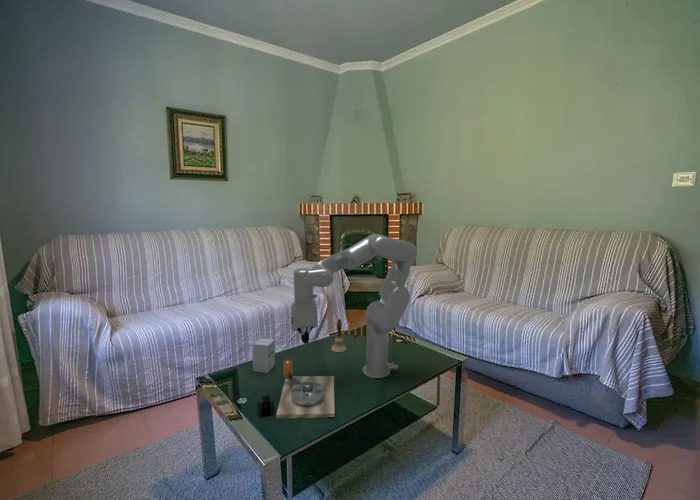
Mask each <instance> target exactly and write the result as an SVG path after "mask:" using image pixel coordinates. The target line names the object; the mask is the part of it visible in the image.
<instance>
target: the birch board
mask: <svg viewBox="0 0 700 500" xmlns="http://www.w3.org/2000/svg"><path fill="white" fill-rule="evenodd" d="M292 376H293V375H292ZM293 377H294V378H296V379H297V380H298V381H300V382H306V381H307V379H309V380H313V382H316V383H319V384H321V385H322V386H323V388H324V398H323V400H322V401H321V402H320V403H319V404H317V405H314V406H310V407H302V406H298V405H296V404H294V403H293V402H292V400H291V390H292V387H293V385H294V384H293V383H291V382H290V381H289V380H287V379H286V378H284V379H285V380H284V383H283V387H282V389H281V390H282V391H281V395H280V400H279V403H278V406H277V411H276V413H275V414H276V417H275V418H276V419H328V418H327V417H335V413H336V412H335V410H336V409H335V376H334V375H319V376H318V375H313V376H312V375H310V376H309V375H303V376H302V375H300V376H298V375H295V376H293Z"/></svg>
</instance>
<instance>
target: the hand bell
mask: <svg viewBox="0 0 700 500" xmlns="http://www.w3.org/2000/svg"><path fill="white" fill-rule="evenodd" d="M342 323H343V322H342V320H341V319H340V318H338V319H337V322H336V330H337V337H335V338H334V343H333V345H332V346H331V348H330V350H331V351H332V352H334V353H336V352H342V353H345V352H347V351H346V350H348V348H347V346H346V345H345V341H344V340H345V339H344V338H343V337H342V333H341V331H342V328H343V324H342ZM344 351H345V352H344Z"/></svg>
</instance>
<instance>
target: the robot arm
mask: <svg viewBox="0 0 700 500" xmlns="http://www.w3.org/2000/svg"><path fill="white" fill-rule="evenodd" d="M376 256H377V257H381V258H384V259H387V260H391V266H390V268H389V271H388V273H387V274H386V277H385V278H384V280H383V282H382V285H381V286H380V288H379V296H380V298H381V299H382V300H383V301H384V303H383V302H381V301H372V302H371V303H370V304H369V305H368V306H367V308H366V311H365V320H366V348H365V349H366V350H365V351H366V353H365V354H366V355H365V357H366V358H365V365H364V366H362V370H361V371H362V373H363V375H364V376H365V377H368V378H370V379H375V378H382V377H385V376H387V375H389V374H390V372H392V370H399V365H398V364H395V362H389V339H390V337H389V336H390V335H389V334H390V332H392V331H393V330H394V329H396V327H398V324H399V323H400V321H401V319H402V317H403V315H404V314H405V311H406V309H407V308H408V306H409V303H410V297H411V295H410V291H409V290H408V289H407V287H406V286H405V285H406V283H407V280H408V279H409V276H410V273H411V263H412V262H413V261H414V260H415V259H416V258H417V256H418V249H417V246H416V245H415V244H414V243H413V242H409V241H406V240H402V239H396V238H393V237H389V236H386V235H382V234H379V233H373V234H369V236H367V237H364V238H363V239H361V240H359V241H358V242H356V243H355V244H353V245H351V246H350V247H348V248H345V249H343V250H341V251H338V252H337V253H334V254H332V255H330V256H328V257H325V258H323V259H322V260H320V261H318V262H317V263H315V264H314V265H313V266H312V267H311V268H308V267H300V268H295V269H294V271H293V291H294V292H293V293H294V295H293V296H294V297H293V298H294V302H292V304H291V313H290V314H291V315H290V318H291V319H290V322H291V323H290V324H291V330H292V331H293V332H298V333H300V340H301V342H302V343H303V344H304V345H306V344H309V341H310V334H311V332H312V330H313V329H315V328H317V327H318V325H319V324H318V323H319V321H318V310H317V305H316V301H315V299H316V298H317V294H314V287H316V288H326V287H329V286H330V285H332V284H333V281H334V273H335V274H336V273H337V272H339V271H342V270H346V269H354V268H358V267H359V266H361V265H363V264H364V263H366V262H367V261H369V260H370V259H372V258H374V257H376ZM390 375H391V374H390ZM390 375H389V376H390ZM382 379H383V378H382Z"/></svg>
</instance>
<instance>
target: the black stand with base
mask: <svg viewBox="0 0 700 500" xmlns="http://www.w3.org/2000/svg"><path fill="white" fill-rule="evenodd" d="M274 406H275V405H274V400H271V395H263V396H262V395H261V401H260V402H257V418H259V419H260V418H266V417H272V416H275V407H274Z"/></svg>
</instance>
